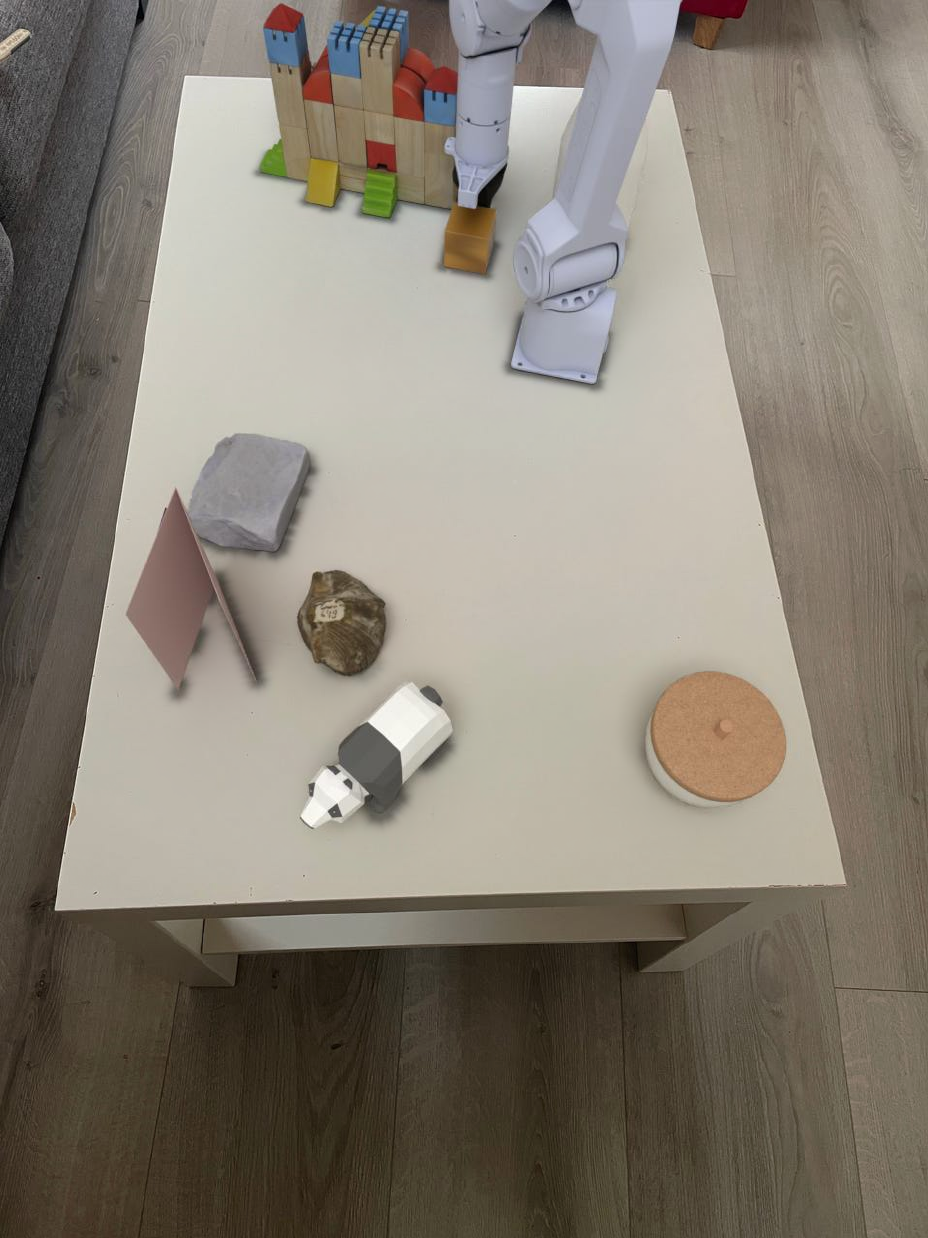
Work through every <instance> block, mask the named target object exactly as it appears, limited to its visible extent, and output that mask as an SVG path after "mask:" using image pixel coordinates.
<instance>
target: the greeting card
mask: <svg viewBox="0 0 928 1238" xmlns="http://www.w3.org/2000/svg"><path fill="white" fill-rule="evenodd" d="M187 511H188V510H187V508H186V506H185V504H184V501H183V499H182V497H181V495H180V493H179V490H178V488H177V487H176V486H175V487H174V489H173V493H172V495H171V497H170V500H169V502H168V504H167V506H166V507H164V510H163V513H162V516H161V520H160V523H159V525H158V529H157V531H156V535H155V538H154V541H153V543H152V545H151V547H150V550H149V552H148V555H147V558H146V561H145V563H144V566H143V568H142V570H141V573H140V576H139V578H138V580H137V583H136V585H135V587H134V591H133V593H132V596H131V598H130V600H129V602H128V605H127V609H126V611H125V613H124V615H125V616H126V618H127V619H128V620H129V622H130V623H131V625H132V626H133V627H134V629H135V630H136V631H137V634H138V635H139V636H140V638H141V639H142V641H143V642H144V643H145V645H146V646H147V648H148V649H149V650H150V652H151V654H152V655H153V657H155V659H156V661H157V662H158V664H159V665H160V666H161V668H162V669H163V670H164V672H165V674H166V675H167V677H168V678H169V679H170V681H171V682H172V683H173V685H174V686H175V688H176V689H177V690H178V691H179V689H180V687H181V685H182V681H183V678H184V677H185V676H184V675H185V674H186V673H185V672H186V669H187V667H188V664H189V661H190V659H191V655H192V652H193V650H194V646H195V643H196V641H197V638H198V635H199V632H200V630H201V627H202V624H203V621H204V618H205V615H206V612H207V610H208V606H209V603H210V601H211V598H212V595H213V592H214V591H215V594H216V596H217V599H218V601H219V604H220V607H221V608H222V610H223V613H224V615H225V617H226V619H227V621H228V623H229V625H230V628H231V631H232V632H233V635H234V636H235V638H236V641H237V643H238V645H239V647H240V649H241V652H242V654H243V656H244V658H245V661H247V664H248V667H249V669H250V671H251V673H252V675H253V677H254V679H255V682H256V683H257V682H258V681H257V678H256V676H255V673H254V671H253V668H252V665H251V662H250V660H249V657H248V654H247V652H246V650H245V648H244V647H245V646H244V645H243V643H242V640H241V637H240V634H239V632H238V629H237V626H236V624H235V621H234V619H233V616H232V614H231V611H230V609H229V606H228V604H227V601H226V599H225V595H224V594H223V591H222V589H221V585H220V583H219V581H218V578H217V576H216V573H215V572H214V569H213V567H212V565H211V562H210V560H209V558H208V555H207V554H206V550H205V549H204V546H203V544H202V543H201V540H200V538H199V535H198V533H197V532H196V531H195V529H194V526H193V524H192V522H191V520H190V517H189V515H188V513H187Z"/></svg>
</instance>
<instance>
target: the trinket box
mask: <svg viewBox="0 0 928 1238" xmlns="http://www.w3.org/2000/svg"><path fill="white" fill-rule="evenodd" d="M644 736H645V737H644V750H645V757H646V762H647V764H648V767H649V769H650V771H651V773H652V775H653V777H654V778H655V780H656V781H657V783H658V784H659V785H660V786H661V787H662V788H663V789H664V790H665V791H666V792H667V793H668V794H670V796H672V797H674V798H675V799H677V800H678V801H680V802H682V803H684V804H686V805H689V806H693V807H696V808H697V807H698V808H703V809H721V808H727V807H731V806H734V805H737V804H740V803H742V802H745V801H746V800H748V799H751V798H752V797H755V796H756V795H758V794H760V793H761V792H763V791H764V790H765V789H767V788H768V787H769V786H771V784H772V783H773V782H774V781H775V780H776V778H777V777H778V776H779V773H780V772H781V771H782V768H783V765H784V763H785V760H786V754H787V736H786V731H785V727H784V724H783V721H782V718H781V716H780V714H779V711H778V710H777V709H776V707H775V706H774V704H773V703H772V701H770V699H769V698H768V697H767V696H766V695H765V694H764V693H763V692H762V691H761V690H760V689H758V688H757V687H756V686H755V685H753V684H752V683H750V682H748V681H747V680H745V679H743V678H741V677H739V676H736V675H733V674H730V673H727V672H721V671H714V670H713V671H708V670H707V671H699V672H698V671H697V672H694V673H690V674H686V675H685V676H683V677H681V678H678V679H677V680H676V681H674V682H673V683H672V684H670V685H669V686H668V687H667V688H666V689H665V690H664V691H663V693H662V694H661V695H660V697H659V699H658V700H657V701H656V704H655V706H654V709H653V711H652V712H651V715H650V717H649V719H648V722H647V725H646V730H645V735H644Z"/></svg>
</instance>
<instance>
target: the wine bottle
mask: <svg viewBox="0 0 928 1238" xmlns="http://www.w3.org/2000/svg"><path fill="white" fill-rule="evenodd" d="M580 100H581V97H580V98H579V100H578V102H577V104H576V106H575V108H574V109H573V111H572V113H571V115H570V117H569V119H568V121H567V123H566V125H565V128H564V130H563V131H562V135H561V137H560V143H559V149H558V156H557V163H556V168H555V169H556V170H555V176H554V181H553V189H552V195H551V200H553V199H554V197H555V194H556V190H557V186H558V183H559V179H560V175H561V171H562V168H563V164H564V160H565V156H566V153H567V149H568V145H569V141H570V138H571V134H572V130H573V127H574V123H575V119H576V115H577V112H578V108H579V104H580ZM648 143H649V141H648V126H647V118H646V119H645V122H644V124H643V127H642V130H641V133H640V136H639V138H638V141H637V144H636V147H635V150H634V152H633V155H632V158H631V161H630V164H629V166H628V169H627V172H626V175H625V178H624V180H623V183H622V186H621V189H620V192H619V194H618V197H617V200H616V204H617V206H618V207H619V209H620V210H621V212H622V214H623V216H624V218H625V221H626V223H627V226H628V229H629V227H630V223H631V220H632V215H633V211H634V208H635V203H636V200H637V196H638V193H639V188H640V184H641V180H642V176H643V172H644V169H645V166H646V165H645V164H646V160H647V157H648V150H649V149H648V145H649V144H648Z"/></svg>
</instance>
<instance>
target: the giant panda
mask: <svg viewBox="0 0 928 1238" xmlns="http://www.w3.org/2000/svg"><path fill="white" fill-rule="evenodd" d="M443 703H444V700H443V699H442V697H441V695H440V693H438V690H436V689H435V687H432V686H430V685H428V684H427V685H426V686H424V687H421V689H420V688H419V687H417V685H416V684H414V683H413V681H404V682H402V683H401V684H400V685H398V686H397V687H396V688H395V689H394V690H393V692H391V693H390V694H389V696H388V697H387V698H386V699H385V700H383V702H382V703H381V704H380V705H379V706H378V708H376V709H375V710H374V711H373V712H372V713H370V715H369V716H368V717H366V718H365V719H364V720H363V721H362V722H361V723H360V724H358V726H356V727H355V728H354V729H353V730H352V731H351V732H350V733H349V734H348V735H347V736H345V738H343V740H342V741H341V742H340V743H339V745H338V752H337V756H338V764H335V765H322V766H321V768H320V769H318V771H317V772H316V774H315V775H314V776H313V777H312V779H311V780H310V781H309V782H308V786H307V787H308V794H309V796H308V799H307V801H306V803H305V805H304V806H303V809H302V812H301V814H300V816H299V819H300V821H301V822H302V823H303V824H304V825H305V826H307V827H308V828H309V829H312V830H314V829H316V828H319V827H320V826H323V825H325V824H327V823H329V822H330V821H333V822H338V823H341V824H342V823H343V822H344V821H346V820H347V819H348V818H350V816H352V815H353V814H354V813H355V812H357V811H358V810H359V809H360V808H361V807H362V806H363V805H365V797H366V796H369V795H371V796H372V797H371V798H370V801H369V806H370V807H371V809H372V811H373V812H375V813H377V814H380V815H381V814H383V813H384V812H385V811H386V810H388V808H389V807H390V806H391V805H392V804H393V803H394V801H395V800H396V798H397V797H398V794H399V791H400V789H401V788H402V787H403V785H404V784H405V783H406V781H408V779H409V778H411V776H412V775H413V774H414V773H415V772H416V771H417V770H418V769H419V767H421V765H423V763H425V762H426V763H428V762H430V761H432V759H434V757H436V756H437V755H439V753H440V751H441V750H442V748H443V747H444V746H445V742H446V740H447V739H448V738H449V737H450V736H451V735H452V733H453V731H454V730H453V725H452V721H451V719H450V717H449V715H448V714H447V712H446V710H444V709H443V708H442V707H441V706H442V704H443Z"/></svg>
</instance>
